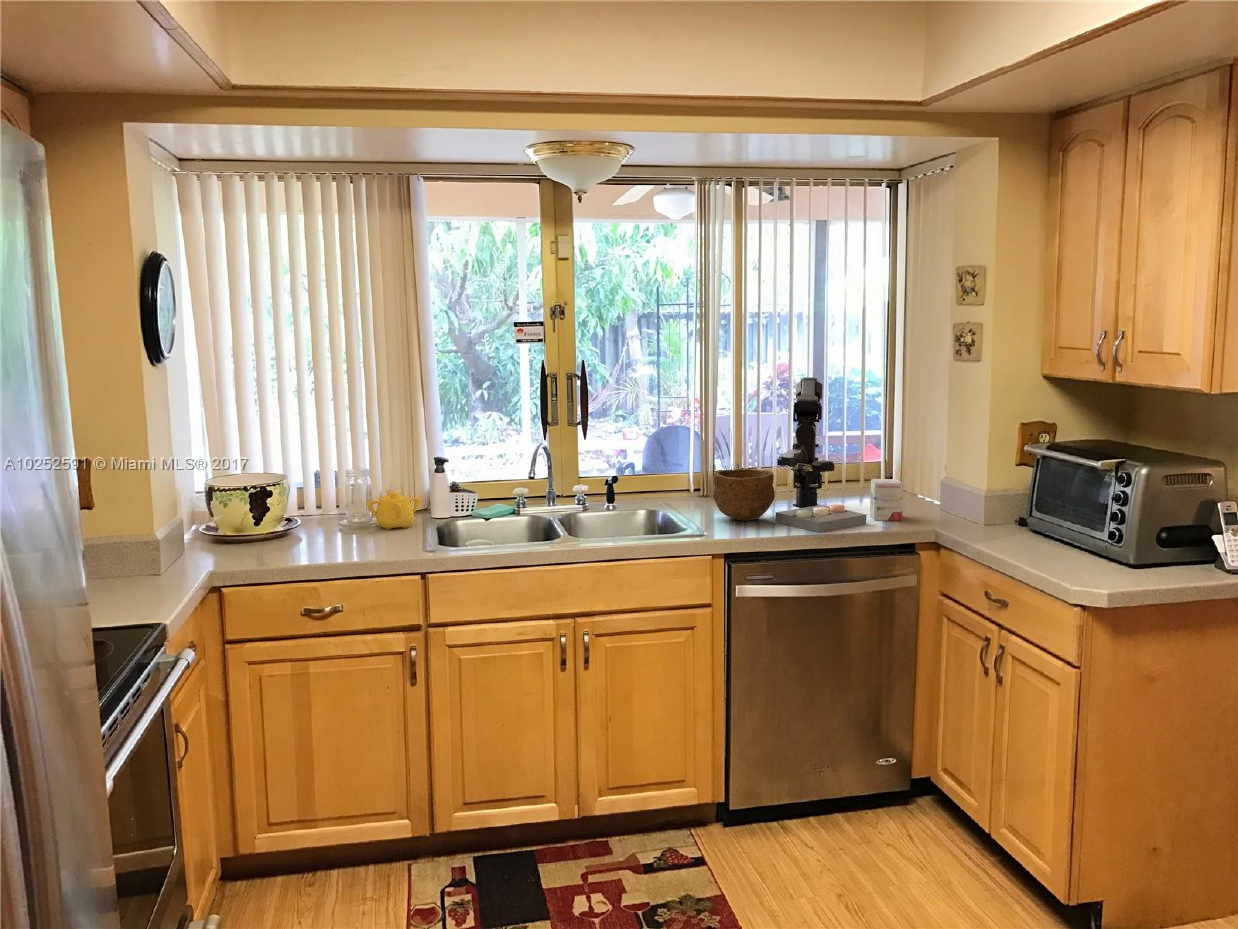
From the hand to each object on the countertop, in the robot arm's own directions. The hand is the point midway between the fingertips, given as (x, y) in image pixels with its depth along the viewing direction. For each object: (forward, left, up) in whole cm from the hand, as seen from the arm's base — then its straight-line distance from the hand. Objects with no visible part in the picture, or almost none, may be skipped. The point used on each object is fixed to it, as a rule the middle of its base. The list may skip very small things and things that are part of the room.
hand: (804, 492), depth 292 cm
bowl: (-14, -12, -10) cm, 21 cm away
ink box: (+9, +26, -10) cm, 29 cm away
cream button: (+3, +4, -8) cm, 9 cm away
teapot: (-67, -103, -10) cm, 123 cm away
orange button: (+3, +11, -8) cm, 14 cm away
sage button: (+3, -3, -8) cm, 9 cm away
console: (+3, +4, -9) cm, 11 cm away
